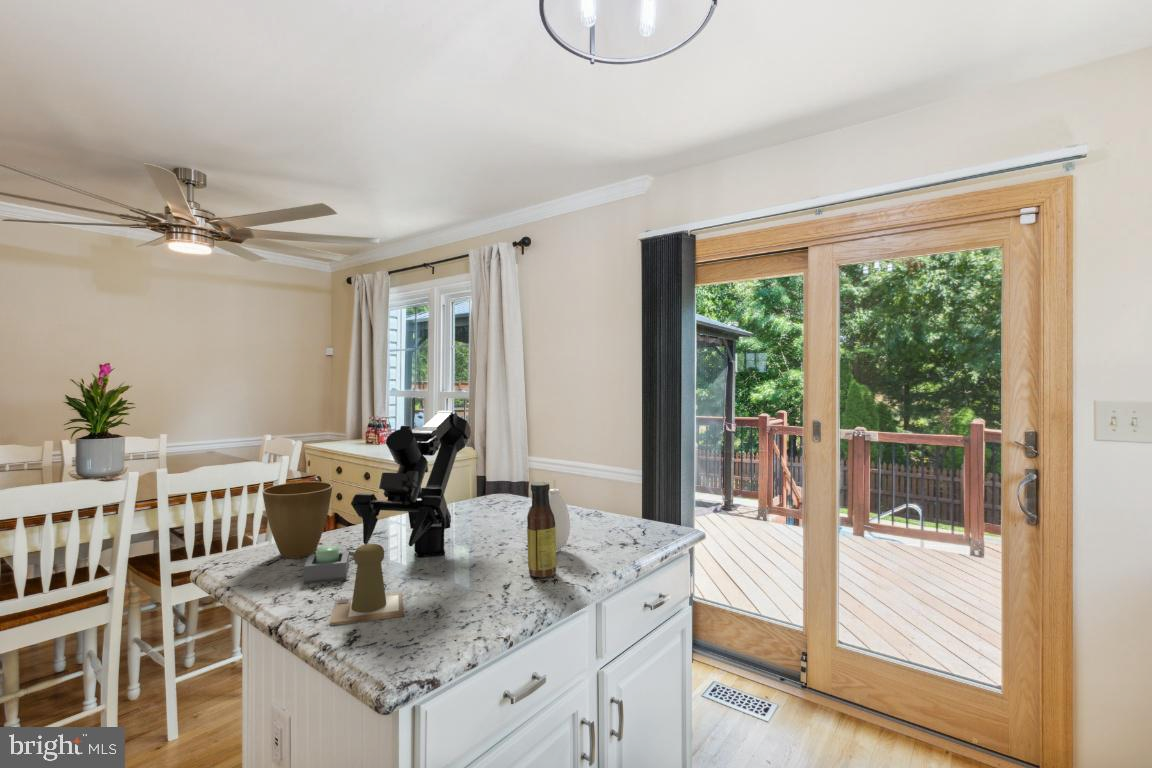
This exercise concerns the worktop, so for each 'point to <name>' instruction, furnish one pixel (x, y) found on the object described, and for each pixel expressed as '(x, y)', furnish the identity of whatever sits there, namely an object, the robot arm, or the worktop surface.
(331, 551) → the button
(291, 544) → the plant pot
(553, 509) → the white vase
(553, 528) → the sauce bottle
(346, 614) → the tan rectangular board
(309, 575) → the button housing
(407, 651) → the worktop surface
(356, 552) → the cork
